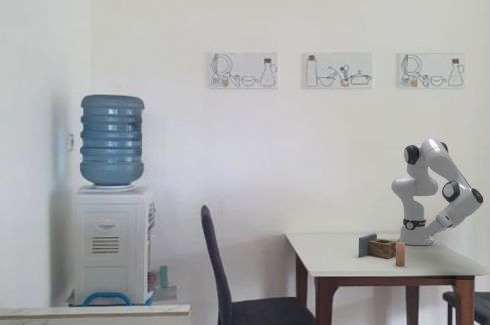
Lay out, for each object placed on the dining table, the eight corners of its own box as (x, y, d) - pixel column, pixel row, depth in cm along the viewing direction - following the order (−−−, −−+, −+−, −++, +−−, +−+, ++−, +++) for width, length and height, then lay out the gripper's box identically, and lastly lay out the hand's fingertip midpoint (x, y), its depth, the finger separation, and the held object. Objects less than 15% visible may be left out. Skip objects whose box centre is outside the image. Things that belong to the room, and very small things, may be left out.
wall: (373, 251, 234) (373, 233, 234) (376, 252, 233) (376, 233, 232) (358, 257, 222) (358, 237, 222) (362, 257, 221) (362, 238, 221)
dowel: (397, 263, 210) (398, 241, 210) (405, 265, 207) (406, 242, 207) (394, 265, 207) (394, 242, 207) (402, 267, 205) (402, 244, 204)
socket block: (377, 251, 234) (378, 238, 234) (397, 254, 226) (397, 241, 226) (368, 254, 226) (368, 241, 226) (388, 258, 218) (388, 245, 218)
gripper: (452, 209, 200) (430, 227, 207) (436, 214, 185) (413, 234, 192) (462, 220, 197) (440, 238, 204) (447, 226, 182) (423, 245, 190)
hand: (427, 236), depth 198 cm, fingers open, 8 cm apart
